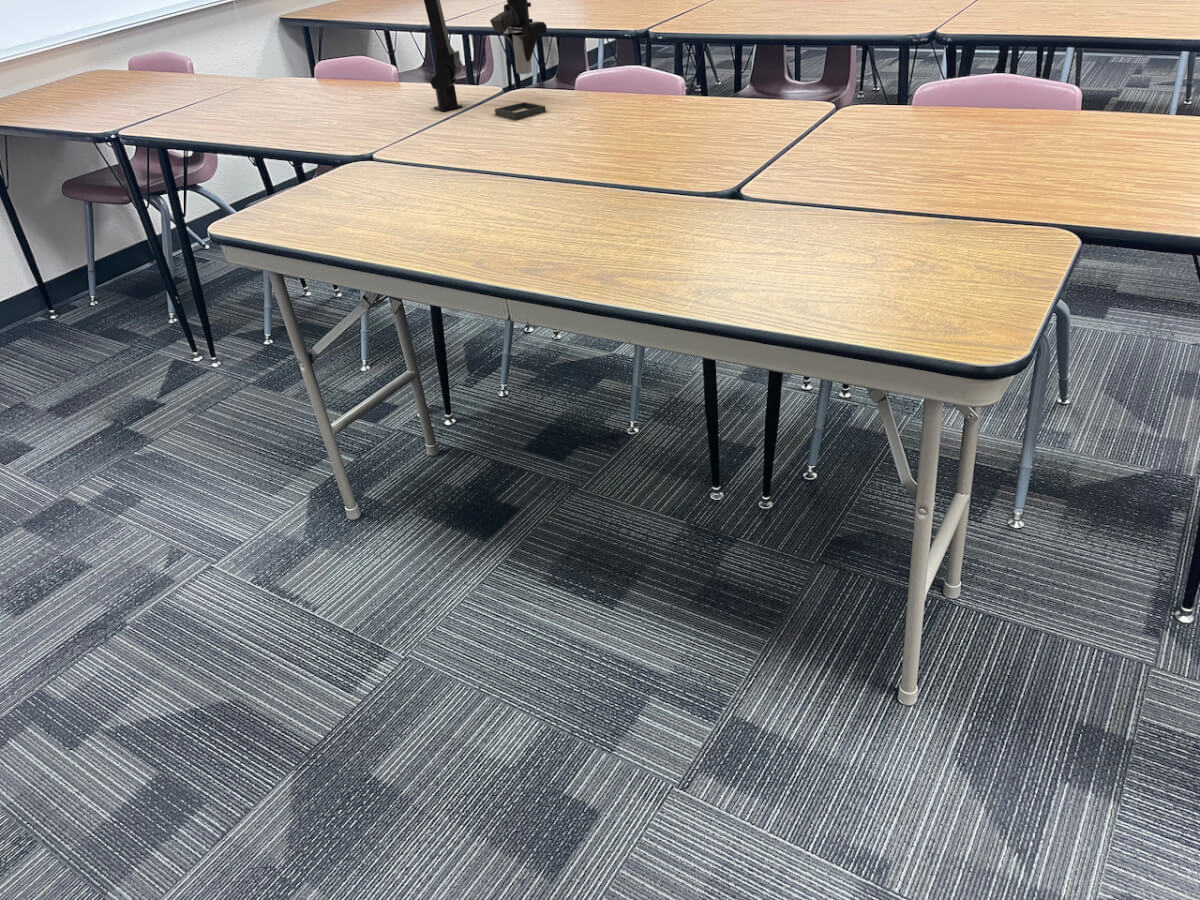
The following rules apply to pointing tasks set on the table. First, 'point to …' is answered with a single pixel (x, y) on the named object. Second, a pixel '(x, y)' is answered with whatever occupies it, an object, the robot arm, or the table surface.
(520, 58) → the gray cylinder
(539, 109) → the black square frame
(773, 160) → the table surface
